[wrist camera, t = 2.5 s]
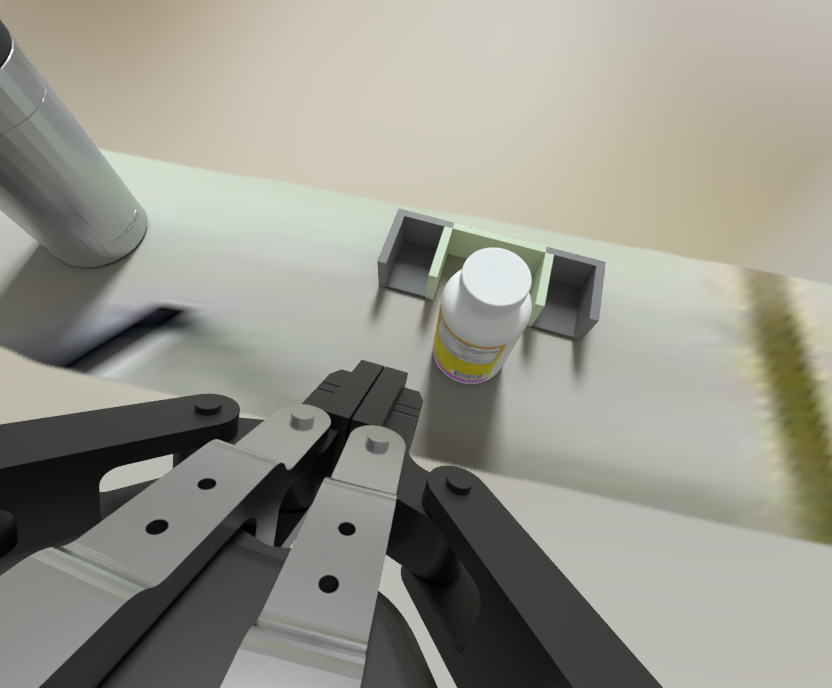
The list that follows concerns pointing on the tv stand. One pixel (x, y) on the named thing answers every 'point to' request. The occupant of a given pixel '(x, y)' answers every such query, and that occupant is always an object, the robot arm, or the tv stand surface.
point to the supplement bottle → (482, 315)
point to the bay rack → (434, 239)
